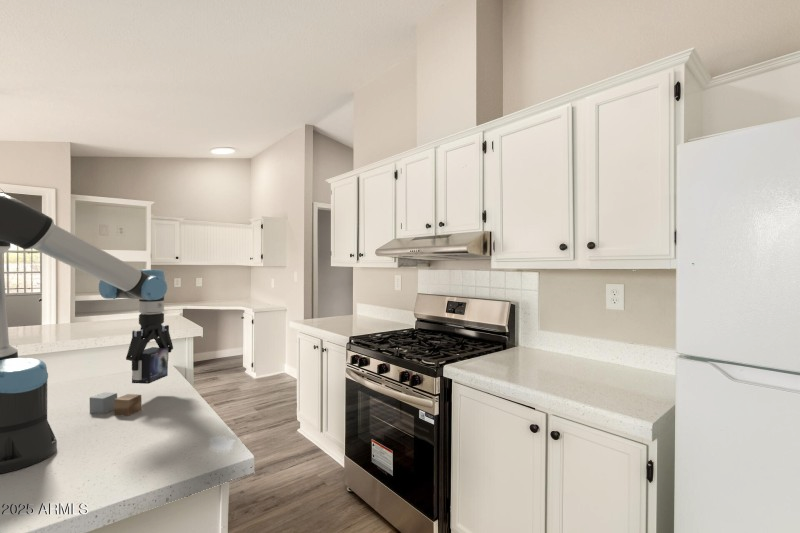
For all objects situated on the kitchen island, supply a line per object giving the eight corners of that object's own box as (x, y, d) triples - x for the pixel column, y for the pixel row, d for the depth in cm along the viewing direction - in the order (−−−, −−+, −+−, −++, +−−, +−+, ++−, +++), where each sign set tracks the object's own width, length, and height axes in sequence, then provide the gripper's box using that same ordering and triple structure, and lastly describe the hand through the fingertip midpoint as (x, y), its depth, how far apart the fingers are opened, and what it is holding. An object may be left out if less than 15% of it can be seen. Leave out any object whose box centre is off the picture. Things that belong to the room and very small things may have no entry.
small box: (149, 384, 132) (150, 353, 132) (130, 383, 132) (131, 353, 132) (169, 375, 143) (169, 347, 143) (151, 375, 143) (151, 346, 143)
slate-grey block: (103, 414, 122) (103, 398, 122) (89, 413, 123) (89, 397, 123) (117, 408, 127) (117, 393, 127) (104, 407, 128) (104, 392, 128)
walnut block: (128, 416, 121) (128, 400, 121) (114, 415, 121) (114, 399, 121) (141, 410, 126) (141, 394, 125) (128, 409, 126) (127, 393, 126)
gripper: (133, 317, 125) (132, 385, 125) (184, 309, 148) (183, 367, 148) (113, 316, 127) (112, 384, 127) (167, 309, 150) (166, 366, 150)
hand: (150, 375), depth 137 cm, fingers closed on small box, 11 cm apart
